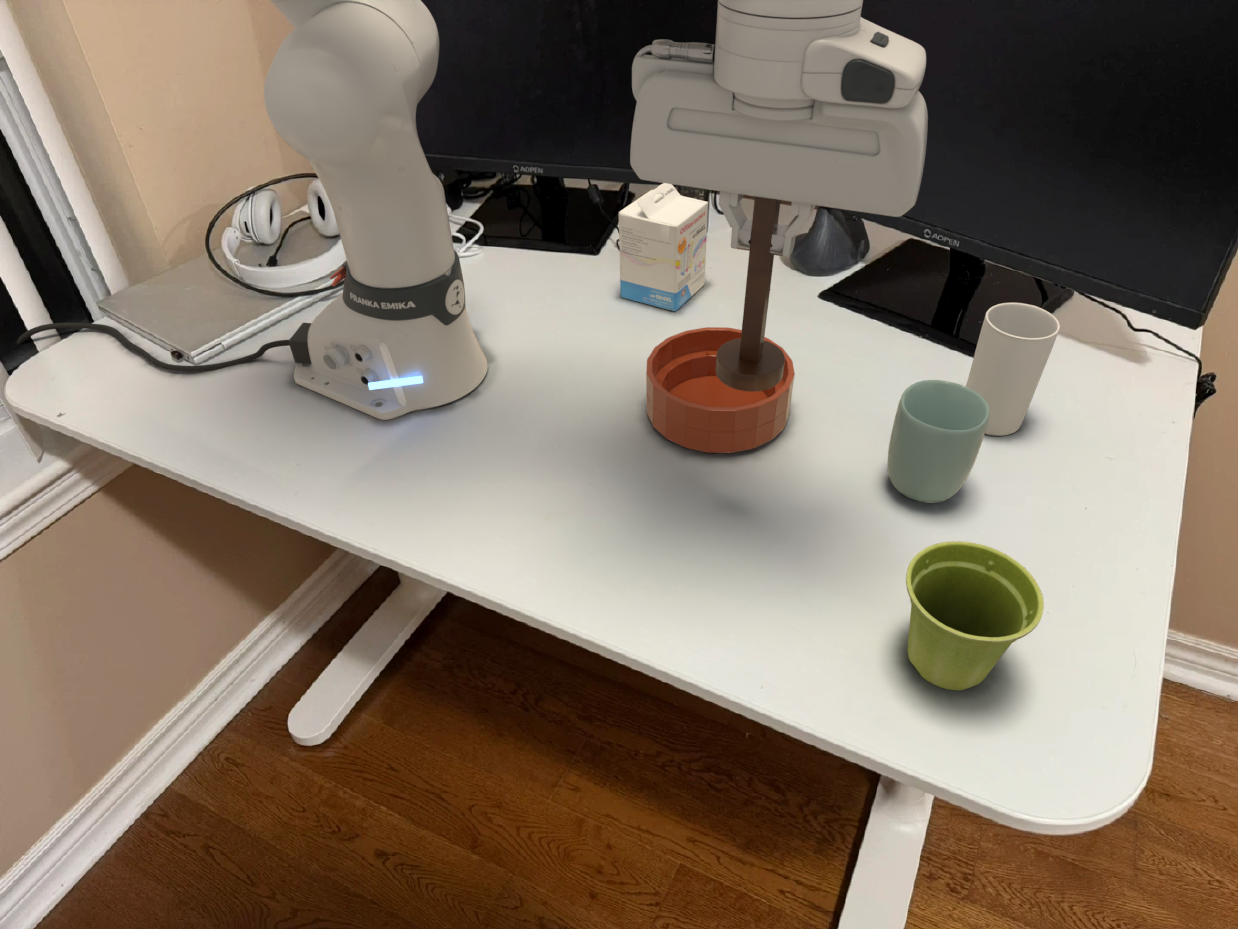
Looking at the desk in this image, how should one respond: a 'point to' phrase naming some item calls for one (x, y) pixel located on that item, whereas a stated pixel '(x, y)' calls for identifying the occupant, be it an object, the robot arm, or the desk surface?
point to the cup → (936, 439)
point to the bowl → (711, 396)
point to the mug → (1011, 361)
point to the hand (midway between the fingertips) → (762, 249)
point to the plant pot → (967, 611)
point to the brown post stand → (755, 314)
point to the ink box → (662, 248)
